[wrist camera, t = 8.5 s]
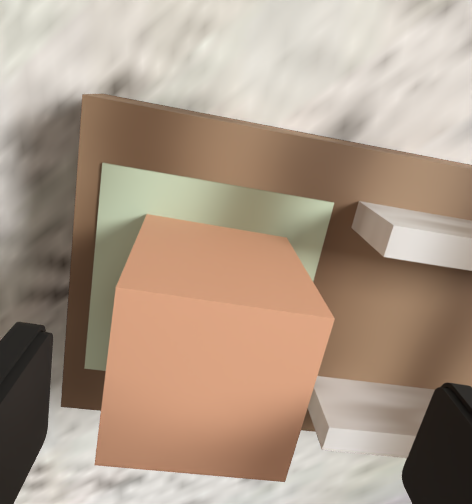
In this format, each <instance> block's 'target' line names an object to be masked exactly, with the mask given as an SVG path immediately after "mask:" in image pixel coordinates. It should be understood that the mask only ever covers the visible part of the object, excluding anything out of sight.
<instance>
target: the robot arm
mask: <svg viewBox="0 0 472 504" xmlns="http://www.w3.org/2000/svg"><path fill="white" fill-rule="evenodd" d="M52 346H53V335H52V333H48V332H46V330H45V327H44V325H37V324H30V323H23V322H17V323H16V324H15V325H14V326H13V327H12V328H11V329H10V330H9V332H8V333H7V334H6V335H5V336H4V337H3V338H2V340H1V341H0V504H14V502H15V500H16V498H17V496H18V494H19V492H20V489H21V487H22V485H23V483H24V481H25V479H26V477H27V475H28V473H29V471H30V469H31V467H32V465H33V463H34V461H35V459H36V457H37V455H38V453H39V451H40V449H41V447H42V445H43V443H44V440H45V437H46V434H47V428H48V414H49V397H50V380H51V363H52ZM402 480H403V484H404V487H405V489H406V491H407V493H408V495H409V497H410V499H411V502H412V504H472V387H471V386H468V385H462V384H455V383H448V382H447V383H444V384H443V385H442V386H441V387H438V388H436V389H435V391H434V393H433V395H432V398H431V400H430V403H429V405H428V408H427V410H426V413H425V415H424V418H423V420H422V423H421V425H420V428H419V430H418V433H417V435H416V438H415V440H414V443H413V445H412V447H411V450H410V452H409V455H408V457H407V460H406V462H405V465H404V467H403V471H402Z"/></svg>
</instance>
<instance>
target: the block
mask: <svg viewBox="0 0 472 504" xmlns="http://www.w3.org/2000/svg"><path fill="white" fill-rule="evenodd" d="M334 320H335V318H334V316H333V315H332V313H331V311H330V310H329V308H328V306H327V305H326V303H325V301H324V300H323V298H322V296H321V294H320V293H319V291H318V289H317V288H316V286H315V284H314V283H313V281H312V279H311V278H310V276H309V274H308V273H307V271H306V269H305V267H304V266H303V264H302V262H301V261H300V259H299V257H298V256H297V254H296V252H295V251H294V249H293V247H292V245H291V244H290V242H289V240H288V239H287V238H286V237H281V236H275V235H269V234H263V233H257V232H251V231H245V230H239V229H233V228H227V227H221V226H215V225H209V224H204V223H198V222H192V221H186V220H180V219H174V218H168V217H162V216H156V215H150V214H147V215H146V217H145V219H144V222H143V224H142V226H141V229H140V231H139V233H138V236H137V238H136V241H135V243H134V245H133V248H132V250H131V252H130V255H129V257H128V259H127V262H126V264H125V267H124V269H123V271H122V274H121V276H120V278H119V281H118V283H117V285H116V289H115V298H114V306H113V315H112V323H111V331H110V340H109V348H108V357H107V365H106V373H105V382H104V390H103V399H102V407H101V415H100V424H99V432H98V441H97V449H96V457H95V465H99V466H111V467H122V468H133V469H144V470H156V471H167V472H178V473H190V474H201V475H212V476H224V477H235V478H246V479H258V480H269V481H280V482H285V480H286V477H287V473H288V470H289V467H290V464H291V460H292V457H293V454H294V451H295V447H296V444H297V441H298V438H299V434H300V431H301V428H302V424H303V421H304V418H305V415H306V411H307V408H308V405H309V402H310V398H311V395H312V392H313V389H314V385H315V382H316V379H317V375H318V372H319V369H320V366H321V362H322V359H323V356H324V353H325V349H326V346H327V343H328V340H329V336H330V333H331V330H332V327H333V323H334Z"/></svg>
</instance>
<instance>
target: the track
mask: <svg viewBox="0 0 472 504" xmlns="http://www.w3.org/2000/svg"><path fill="white" fill-rule="evenodd" d="M147 214H150V215H156V216H162V217H168V218H174V219H180V220H186V221H192V222H198V223H204V224H209V225H215V226H221V227H227V228H233V229H239V230H245V231H251V232H257V233H263V234H269V235H275V236H281V237H286V238H287V239H288V240H289V242H290V244H291V245H292V247H293V249H294V251H295V252H296V254H297V256H298V257H299V259H300V261H301V262H302V264H303V266H304V267H305V269H306V271H307V273H308V274H309V276H310V278H311V279H312V281H313V283H314V284H315V286H316V288H317V289H318V291H319V293H320V294H321V296H322V298H323V300H324V301H325V303H326V305H327V306H328V308H329V310H330V311H331V313H332V315H333V316H334V318H335V320H334V323H333V327H332V330H331V333H330V336H329V340H328V343H327V346H326V349H325V353H324V356H323V359H322V362H321V366H320V369H319V372H318V375H317V379H316V382H315V385H314V389H313V392H312V395H311V398H310V402H309V405H308V408H307V411H306V415H305V418H304V421H303V424H302V428H301V430H305V431H315V432H316V434H317V437H318V440H319V443H320V446H321V448H322V450H327V451H338V452H349V453H360V454H371V455H382V456H393V457H404V458H407V457H408V455H409V452H410V450H411V447H412V445H413V443H414V440H415V438H416V435H417V433H418V430H419V428H420V425H421V423H422V420H423V418H424V415H425V413H426V410H427V408H428V405H429V403H430V400H431V398H432V395H433V393H434V391H435V389H436V388H438V387H441V386H442V385H443V384H444V383H447V382H448V383H455V384H462V385H468V386H471V387H472V165H469V164H463V163H458V162H453V161H448V160H443V159H438V158H432V157H427V156H422V155H417V154H412V153H406V152H401V151H396V150H391V149H386V148H381V147H375V146H370V145H365V144H360V143H355V142H350V141H344V140H339V139H334V138H329V137H324V136H318V135H313V134H308V133H303V132H298V131H293V130H287V129H282V128H277V127H272V126H267V125H262V124H256V123H251V122H246V121H241V120H236V119H231V118H225V117H220V116H215V115H210V114H205V113H199V112H194V111H189V110H184V109H179V108H174V107H168V106H163V105H158V104H153V103H148V102H143V101H137V100H132V99H127V98H122V97H117V96H111V95H106V94H83V95H82V109H81V123H80V137H79V152H78V166H77V181H76V195H75V210H74V224H73V239H72V253H71V268H70V282H69V297H68V311H67V325H66V340H65V354H64V369H63V383H62V398H61V407H69V408H79V409H89V410H100V411H101V407H102V399H103V390H104V382H105V373H106V365H107V357H108V348H109V340H110V331H111V323H112V315H113V306H114V298H115V289H116V285H117V283H118V281H119V278H120V276H121V274H122V271H123V269H124V267H125V264H126V262H127V259H128V257H129V255H130V252H131V250H132V248H133V245H134V243H135V241H136V238H137V236H138V233H139V231H140V229H141V226H142V224H143V222H144V219H145V217H146V215H147Z"/></svg>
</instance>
